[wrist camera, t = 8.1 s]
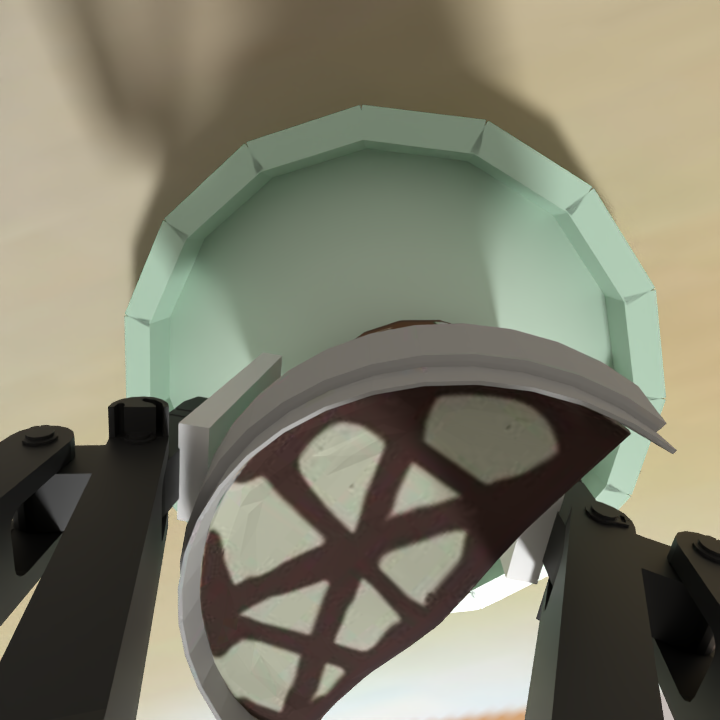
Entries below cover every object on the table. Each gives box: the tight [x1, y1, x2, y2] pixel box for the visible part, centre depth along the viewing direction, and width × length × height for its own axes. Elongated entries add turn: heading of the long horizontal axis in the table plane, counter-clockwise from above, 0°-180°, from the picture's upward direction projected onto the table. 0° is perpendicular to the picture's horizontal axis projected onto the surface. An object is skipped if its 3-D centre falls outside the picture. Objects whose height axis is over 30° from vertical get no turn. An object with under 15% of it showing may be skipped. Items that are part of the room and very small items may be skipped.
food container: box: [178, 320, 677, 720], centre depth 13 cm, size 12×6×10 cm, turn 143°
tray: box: [125, 105, 666, 613], centre depth 18 cm, size 20×20×2 cm
